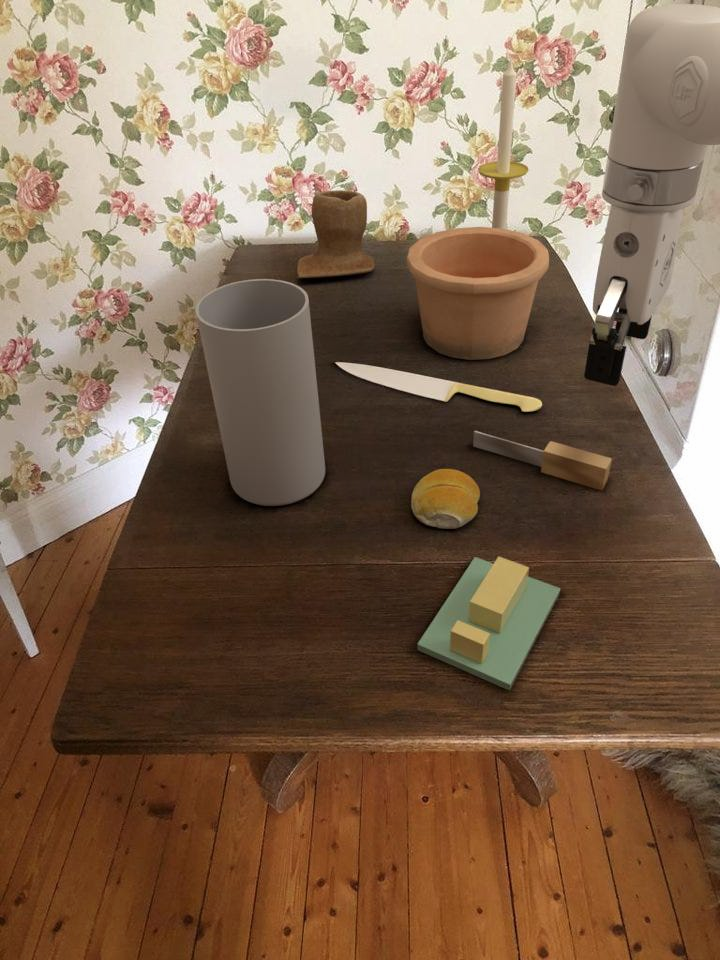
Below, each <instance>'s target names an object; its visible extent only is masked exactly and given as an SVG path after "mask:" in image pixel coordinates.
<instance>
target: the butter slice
mask: <svg viewBox="0 0 720 960" xmlns="http://www.w3.org/2000/svg"><path fill="white" fill-rule="evenodd" d="M489 640H490V633H488V632H485V631H483V630H481V629H478V628H476V627H473V626H471V625H469V624H466V623H464V622H461V621H459V620H457V622H456V623H455V625H454V626H453V628H452V630H451V637H450V650H452V651H454V652H456V653H458V654H461V655H463V656H465V657H468V658H470V659H472V660H475V661H477V662H479V663H483V661H484V659H485V657H486V656H487V654H488V650H489Z"/></svg>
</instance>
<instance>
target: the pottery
mask: <svg viewBox="0 0 720 960" xmlns="http://www.w3.org/2000/svg"><path fill="white" fill-rule="evenodd" d="M549 265H550V255H549V249H547V247H546V246H545V245H544V244H543V243H542V242H541V241H540V240H538V239H537V238H534V237H532V236H530V235H527V234H525V233H523V232H519V231H514V230H511V229H507V228H506V229H501V228H492V227H487V226H471V227H456V228H452V229H446V230H441V231H436V232H434V233H431V234H429V235H427V236H424V237H422V238H420V239H418V240H417V241H416V242H415V243H413V244H412V245H411V246H410V247H409V250H408V253H407V256H406V267H407V269H408V271H409V272H410V274H411V276H412V277H413V278H414V280H415V286H416V293H417V294H416V295H417V301H418V308H419V314H420V320H421V329H422V338H423V339H424V342H425V343H426V344H427V346H428V347H430V348H432V349H433V350H434V351H436V352H437V353H438V354H441V355H443V356H447V357H449V358H453V359H459V360H466V361H483V360H491V359H496V358H500V357H504V356H507V355H508V354H510V353H512V352H513V351H515V350H517V349H518V348H519V347H520V346H521V344H522V343H523V342H524V340H525V335H526V330H527V327H528V323H529V319H530V316H531V310H532V307H533V303H534V299H535V295H536V292H537V287H538V284H539V281H540V280H541V279H542V277H543V276H544V275H545V274H546V272H547V271H548V270H549V267H550V266H549Z"/></svg>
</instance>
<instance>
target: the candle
mask: <svg viewBox="0 0 720 960" xmlns="http://www.w3.org/2000/svg"><path fill="white" fill-rule="evenodd" d="M517 76H518V75H517V72H516V71H515V69H514V65H513V60H512V55H511V56H510V59H509V60H508V64H507V68H506V70H505V71H504V72H503V73H502V81H501V82H502V83H501V84H502V85H501V99H500V114H499V129H498V146H497V159H496V161H489V162H485V163H484V164H481V165H480V166H479V167H478V168H477V171H478V173H479V175H481V176H483V177H484V178H487V179H488V178H489V179H492V180H494V191H493V192H494V193H493V204H492V205H493V209H492V223H491V228H501V229H506V230H507V225H508V224H507V222H508V221H507V220H508V210H509V197H510V184H511V183H510V182H511V180H514V179H518V178H521V177H523V176H526V175H527V173H529V170H530V169H529V167H528V165H526V164H524V163H523V162H517V161H511V154H512V141H513V129H514V128H513V127H514V114H515V101H516V99H515V98H516V88H517V87H516V86H517Z"/></svg>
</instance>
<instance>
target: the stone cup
mask: <svg viewBox="0 0 720 960" xmlns="http://www.w3.org/2000/svg"><path fill="white" fill-rule="evenodd" d="M311 218H312V223H313V228H314V232H315V235H316V239H317V246H318V247H317V250H316V251H315V252H314V253H312V254H307V255H304V256H303V257H301V258H300V259H299V260H298V262H297V267H296V274H297V278H298V279H321V278H334V277H335V278H336V277H346V276H354V275H361V274H367V273H370V272H372V271H373V270H374V269H375V261H374V259H373V258H372V257H371V256H370V255H369V254H367V253H365V252H363V251H362V248H363V247H362V246H363V239H364V238H363V237H364V235H365V232H366V227H367V222H368V203H367V199H366V197H365V195H364V194H362V193H360V192H357V191H352V190H344V189H343V190H341V189H337V190H326V191H320V192H317V193H315V194H314V196H313V200H312V203H311Z"/></svg>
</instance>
